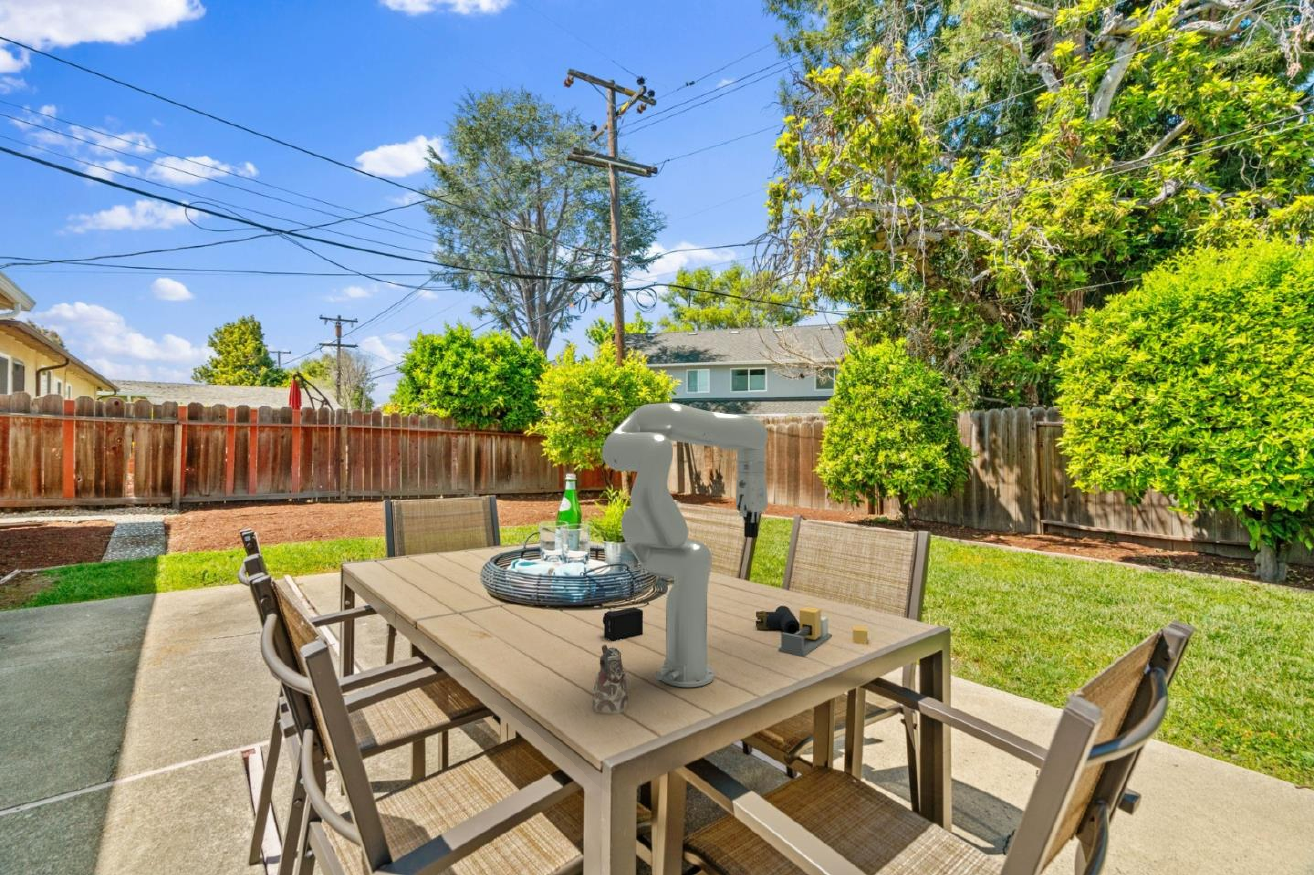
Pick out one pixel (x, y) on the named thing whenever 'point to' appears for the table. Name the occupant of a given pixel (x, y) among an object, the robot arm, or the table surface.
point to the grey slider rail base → (804, 640)
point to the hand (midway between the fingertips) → (751, 536)
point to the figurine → (610, 684)
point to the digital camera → (623, 623)
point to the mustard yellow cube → (859, 634)
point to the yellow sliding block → (811, 621)
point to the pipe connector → (778, 620)
